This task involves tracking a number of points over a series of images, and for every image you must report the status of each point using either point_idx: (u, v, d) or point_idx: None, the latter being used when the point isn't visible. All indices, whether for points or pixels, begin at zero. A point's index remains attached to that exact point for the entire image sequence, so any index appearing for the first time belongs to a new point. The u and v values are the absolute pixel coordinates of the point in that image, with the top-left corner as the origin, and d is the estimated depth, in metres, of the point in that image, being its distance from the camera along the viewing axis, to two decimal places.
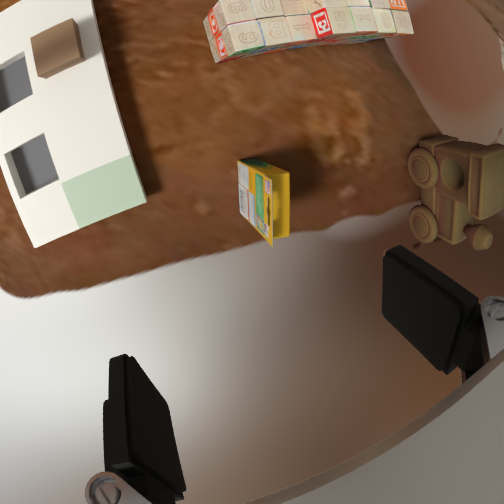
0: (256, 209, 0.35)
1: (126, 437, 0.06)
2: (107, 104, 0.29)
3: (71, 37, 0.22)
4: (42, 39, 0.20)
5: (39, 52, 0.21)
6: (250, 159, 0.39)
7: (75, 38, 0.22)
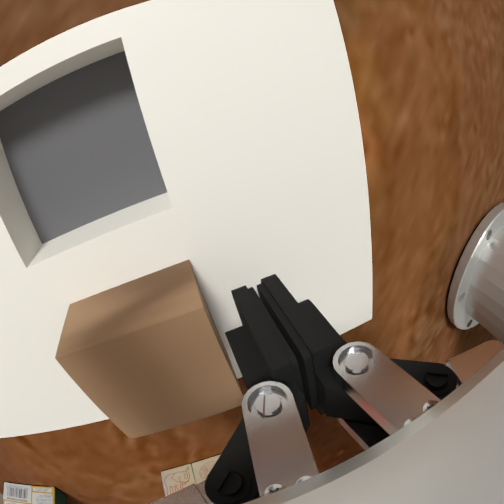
0: None
1: (280, 344, 0.08)
2: (48, 421, 0.12)
3: (185, 416, 0.10)
4: (187, 352, 0.09)
5: (138, 352, 0.09)
6: (62, 496, 0.19)
7: (181, 422, 0.11)
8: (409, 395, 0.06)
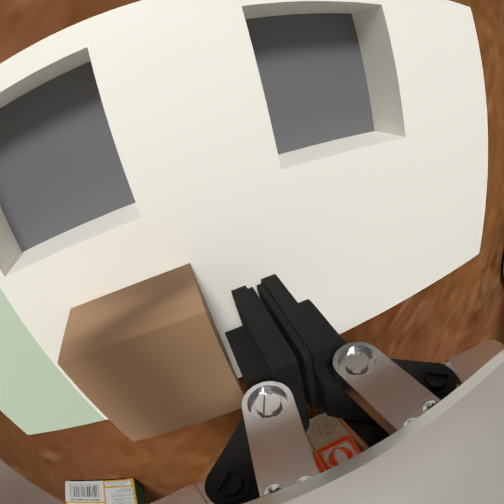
0: None
1: (280, 344, 0.08)
2: None
3: (187, 419, 0.10)
4: (189, 356, 0.09)
5: (140, 356, 0.09)
6: (139, 488, 0.21)
7: (183, 425, 0.11)
8: (409, 395, 0.06)
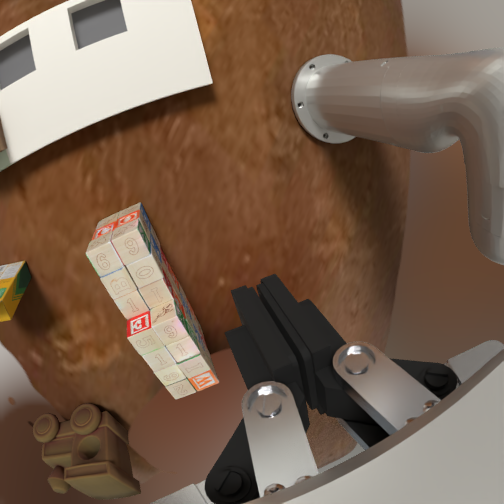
0: None
1: (280, 344, 0.08)
2: (52, 133, 0.27)
3: None
4: None
5: None
6: (28, 272, 0.34)
7: None
8: (409, 395, 0.06)
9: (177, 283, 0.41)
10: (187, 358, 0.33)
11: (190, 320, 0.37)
